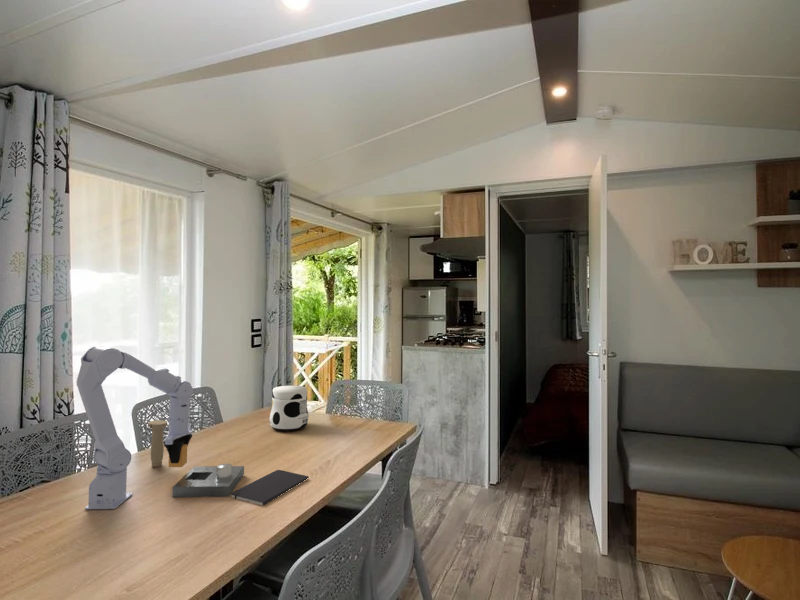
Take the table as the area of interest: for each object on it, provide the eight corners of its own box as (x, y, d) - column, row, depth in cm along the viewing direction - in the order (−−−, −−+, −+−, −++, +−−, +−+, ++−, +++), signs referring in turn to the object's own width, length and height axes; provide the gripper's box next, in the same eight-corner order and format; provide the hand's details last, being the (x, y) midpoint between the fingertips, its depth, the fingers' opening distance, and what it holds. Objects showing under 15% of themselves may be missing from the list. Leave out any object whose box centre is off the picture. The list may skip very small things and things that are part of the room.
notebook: (262, 508, 123) (308, 481, 143) (262, 502, 123) (308, 476, 143) (229, 498, 129) (277, 473, 148) (229, 493, 129) (277, 469, 148)
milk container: (269, 424, 206) (269, 385, 206) (306, 421, 211) (307, 384, 211) (269, 434, 189) (270, 393, 190) (310, 432, 195) (311, 391, 195)
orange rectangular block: (181, 467, 139) (182, 448, 139) (168, 467, 138) (169, 448, 138) (186, 462, 143) (187, 444, 143) (174, 462, 142) (174, 444, 142)
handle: (156, 469, 148) (157, 425, 148) (144, 466, 151) (145, 422, 151) (169, 465, 153) (170, 421, 153) (156, 461, 155) (157, 419, 155)
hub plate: (228, 496, 129) (229, 476, 129) (172, 497, 128) (172, 476, 128) (243, 475, 145) (244, 457, 145) (194, 475, 144) (194, 457, 144)
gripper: (182, 424, 134) (181, 468, 134) (200, 412, 148) (199, 452, 148) (158, 423, 133) (157, 468, 133) (179, 412, 148) (177, 452, 148)
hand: (177, 460), depth 141 cm, fingers closed on orange rectangular block, 4 cm apart
